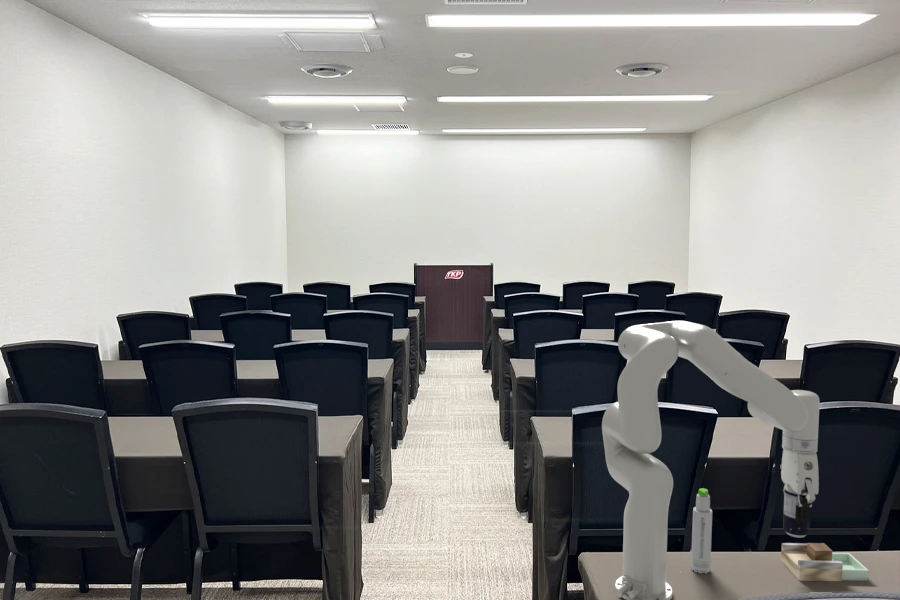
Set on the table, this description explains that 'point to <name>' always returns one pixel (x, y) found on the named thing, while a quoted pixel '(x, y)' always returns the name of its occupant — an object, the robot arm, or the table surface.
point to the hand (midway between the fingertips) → (796, 515)
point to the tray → (851, 567)
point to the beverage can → (793, 515)
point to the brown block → (819, 552)
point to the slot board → (809, 564)
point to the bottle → (701, 533)
